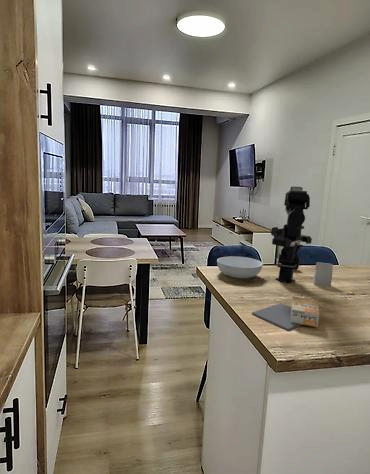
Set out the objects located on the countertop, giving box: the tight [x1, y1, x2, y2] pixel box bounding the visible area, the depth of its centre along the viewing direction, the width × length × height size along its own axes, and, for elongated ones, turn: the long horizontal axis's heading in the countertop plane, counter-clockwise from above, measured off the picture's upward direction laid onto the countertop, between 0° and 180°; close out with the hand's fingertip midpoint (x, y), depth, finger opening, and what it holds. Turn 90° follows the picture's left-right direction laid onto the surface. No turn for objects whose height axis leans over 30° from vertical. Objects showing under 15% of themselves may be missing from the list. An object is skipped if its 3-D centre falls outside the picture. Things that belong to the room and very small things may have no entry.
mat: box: [251, 303, 302, 331], centre depth 110 cm, size 16×14×1 cm
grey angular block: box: [312, 261, 334, 288], centre depth 147 cm, size 4×7×10 cm, turn 76°
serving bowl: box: [216, 256, 264, 279], centre depth 154 cm, size 21×21×7 cm
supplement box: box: [290, 295, 320, 328], centre depth 109 cm, size 8×5×13 cm
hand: (289, 261), depth 132 cm, fingers closed
